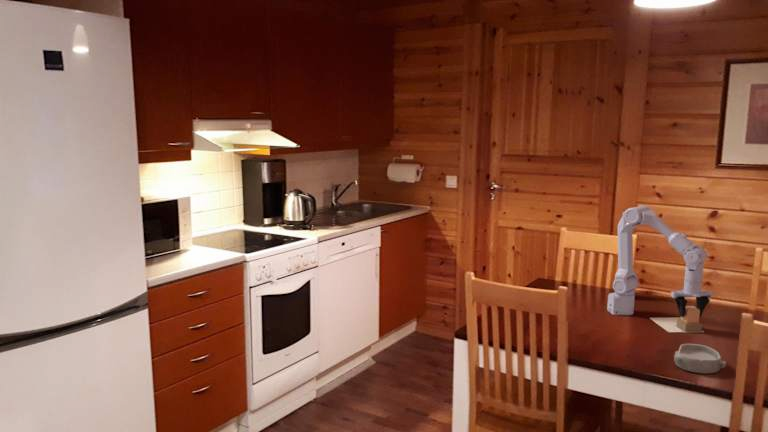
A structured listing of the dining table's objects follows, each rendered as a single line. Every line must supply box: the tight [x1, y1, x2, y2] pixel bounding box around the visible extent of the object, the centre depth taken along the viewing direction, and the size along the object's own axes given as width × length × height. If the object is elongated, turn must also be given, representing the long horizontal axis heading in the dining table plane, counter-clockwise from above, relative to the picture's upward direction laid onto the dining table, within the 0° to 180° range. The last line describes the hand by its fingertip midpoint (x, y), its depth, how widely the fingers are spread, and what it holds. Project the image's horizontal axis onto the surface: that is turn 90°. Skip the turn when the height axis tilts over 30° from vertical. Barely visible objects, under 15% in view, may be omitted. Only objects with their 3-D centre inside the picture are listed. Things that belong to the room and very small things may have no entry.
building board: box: [649, 316, 705, 334], centre depth 218 cm, size 13×16×4 cm
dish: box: [673, 343, 727, 374], centre depth 185 cm, size 14×14×5 cm
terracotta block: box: [680, 305, 700, 323], centre depth 214 cm, size 4×4×5 cm
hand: (690, 316), depth 214 cm, fingers open, 6 cm apart
